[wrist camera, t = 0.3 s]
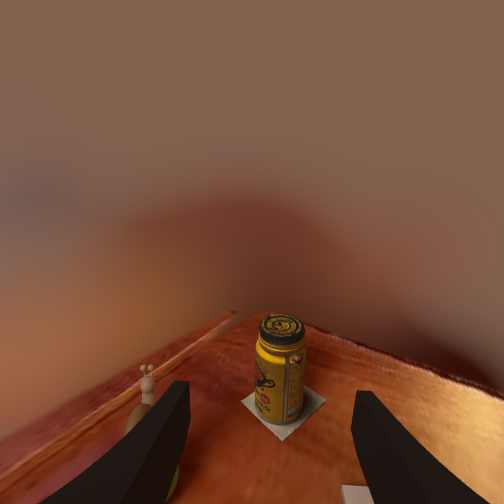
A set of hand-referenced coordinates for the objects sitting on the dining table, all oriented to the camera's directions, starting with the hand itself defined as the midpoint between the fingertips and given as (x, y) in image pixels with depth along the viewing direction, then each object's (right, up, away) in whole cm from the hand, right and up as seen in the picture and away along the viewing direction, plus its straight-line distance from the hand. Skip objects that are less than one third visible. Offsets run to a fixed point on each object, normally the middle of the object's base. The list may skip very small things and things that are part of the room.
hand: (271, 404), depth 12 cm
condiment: (+3, -13, +25) cm, 28 cm away
